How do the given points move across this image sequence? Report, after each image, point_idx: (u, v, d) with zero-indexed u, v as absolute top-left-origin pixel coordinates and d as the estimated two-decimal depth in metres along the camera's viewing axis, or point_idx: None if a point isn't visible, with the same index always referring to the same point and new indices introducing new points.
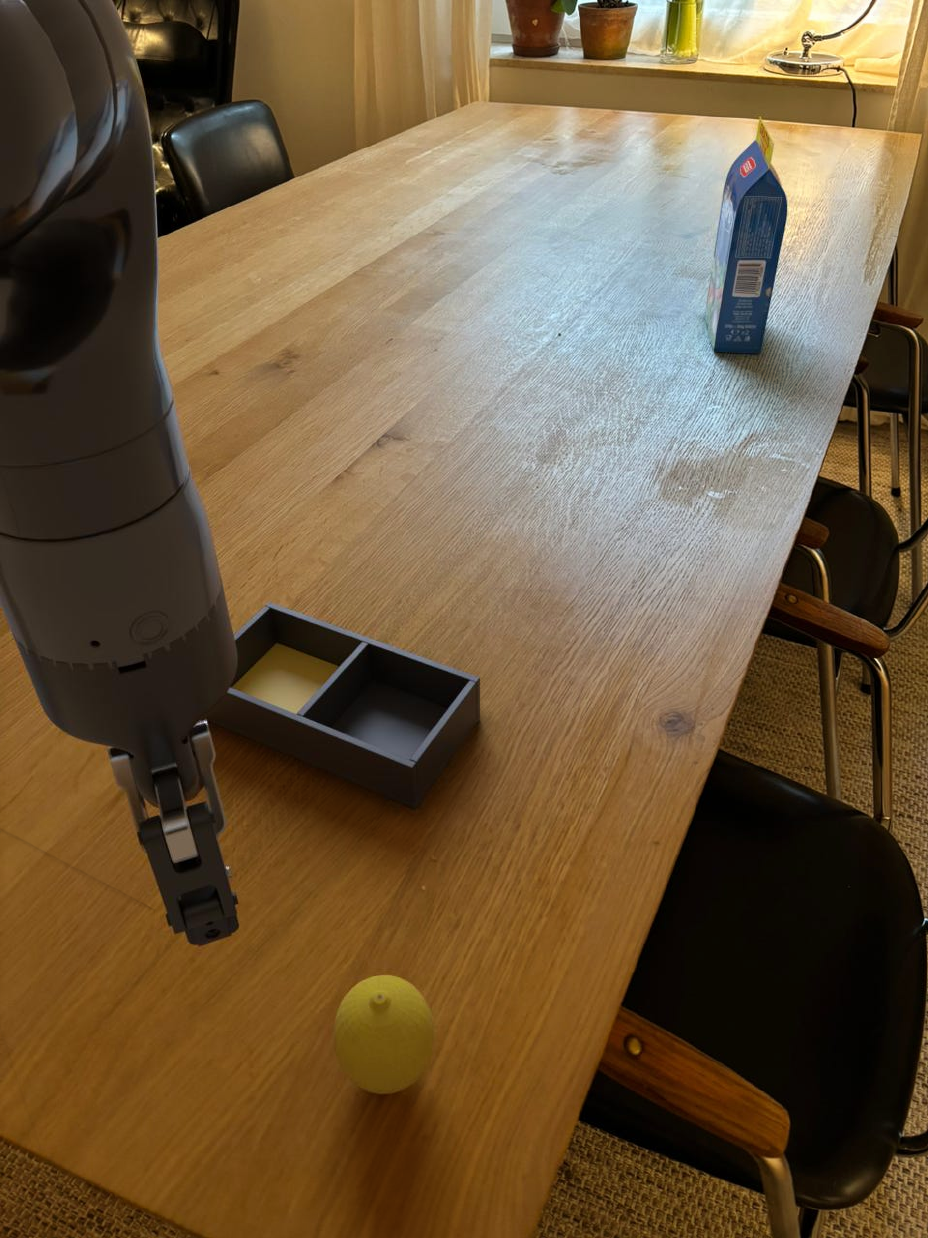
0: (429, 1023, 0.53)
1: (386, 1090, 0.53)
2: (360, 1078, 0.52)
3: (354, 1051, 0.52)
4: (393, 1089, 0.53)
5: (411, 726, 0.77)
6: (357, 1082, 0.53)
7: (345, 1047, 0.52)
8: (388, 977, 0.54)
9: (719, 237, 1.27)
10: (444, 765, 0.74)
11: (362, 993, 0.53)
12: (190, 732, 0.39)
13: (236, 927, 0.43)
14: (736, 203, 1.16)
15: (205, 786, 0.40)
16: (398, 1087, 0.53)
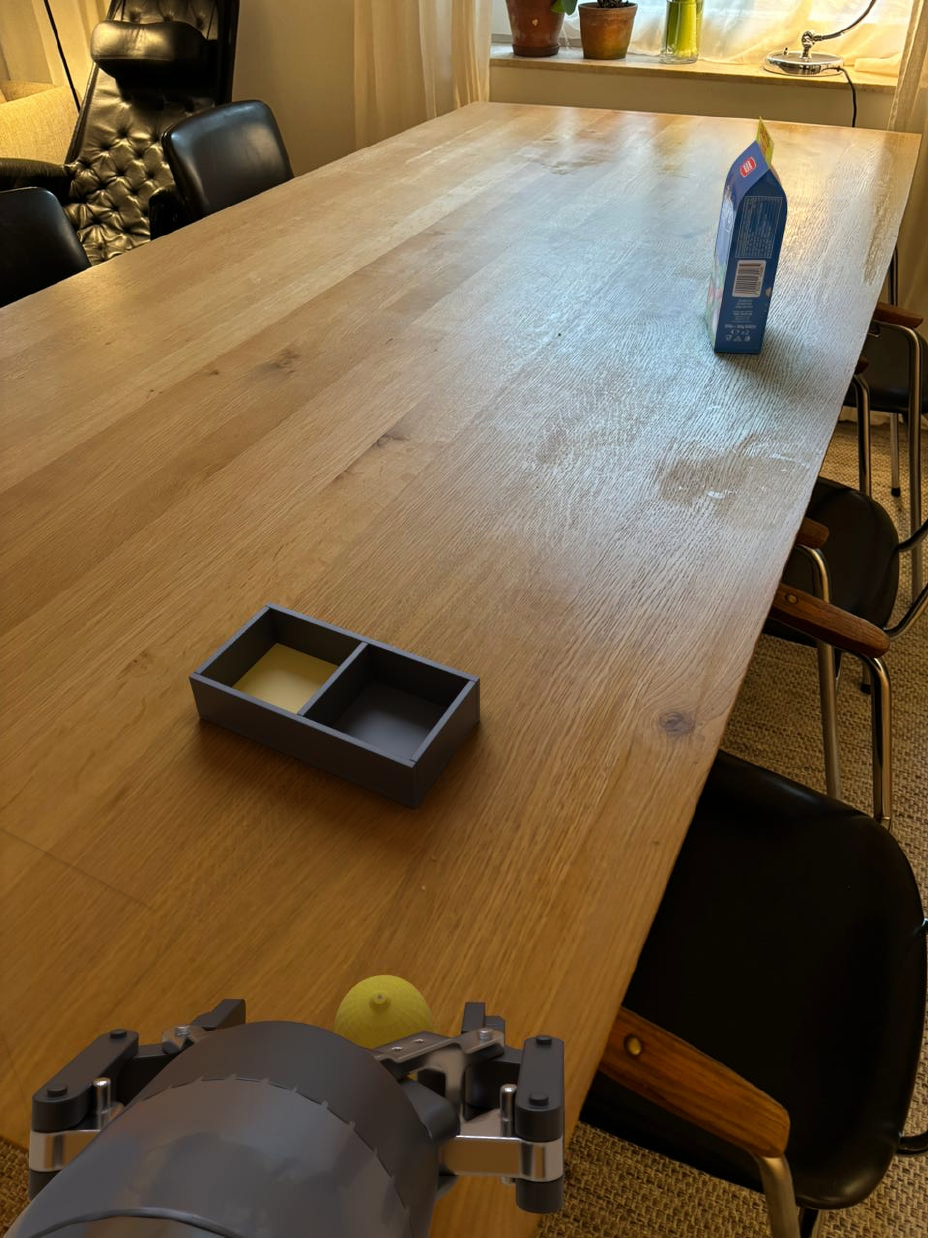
0: (429, 1023, 0.53)
1: None
2: None
3: None
4: None
5: (411, 726, 0.77)
6: None
7: None
8: (388, 977, 0.54)
9: (719, 237, 1.27)
10: (444, 765, 0.74)
11: (362, 993, 0.53)
12: None
13: None
14: (736, 203, 1.16)
15: None
16: None
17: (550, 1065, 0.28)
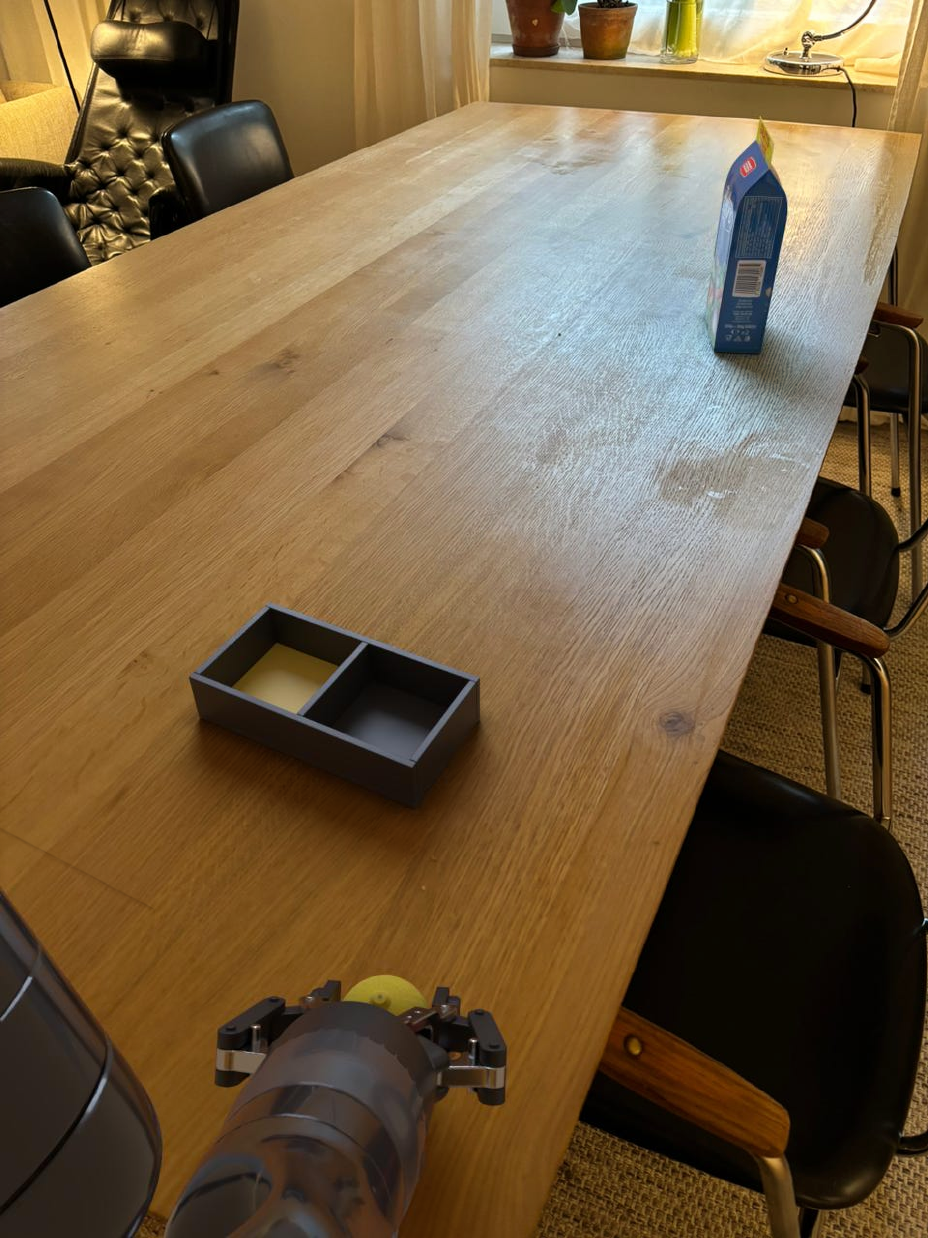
0: None
1: None
2: None
3: None
4: None
5: (411, 726, 0.77)
6: None
7: None
8: (388, 977, 0.54)
9: (719, 237, 1.27)
10: (444, 765, 0.74)
11: (362, 993, 0.53)
12: None
13: None
14: (736, 203, 1.16)
15: None
16: None
17: (490, 1026, 0.48)
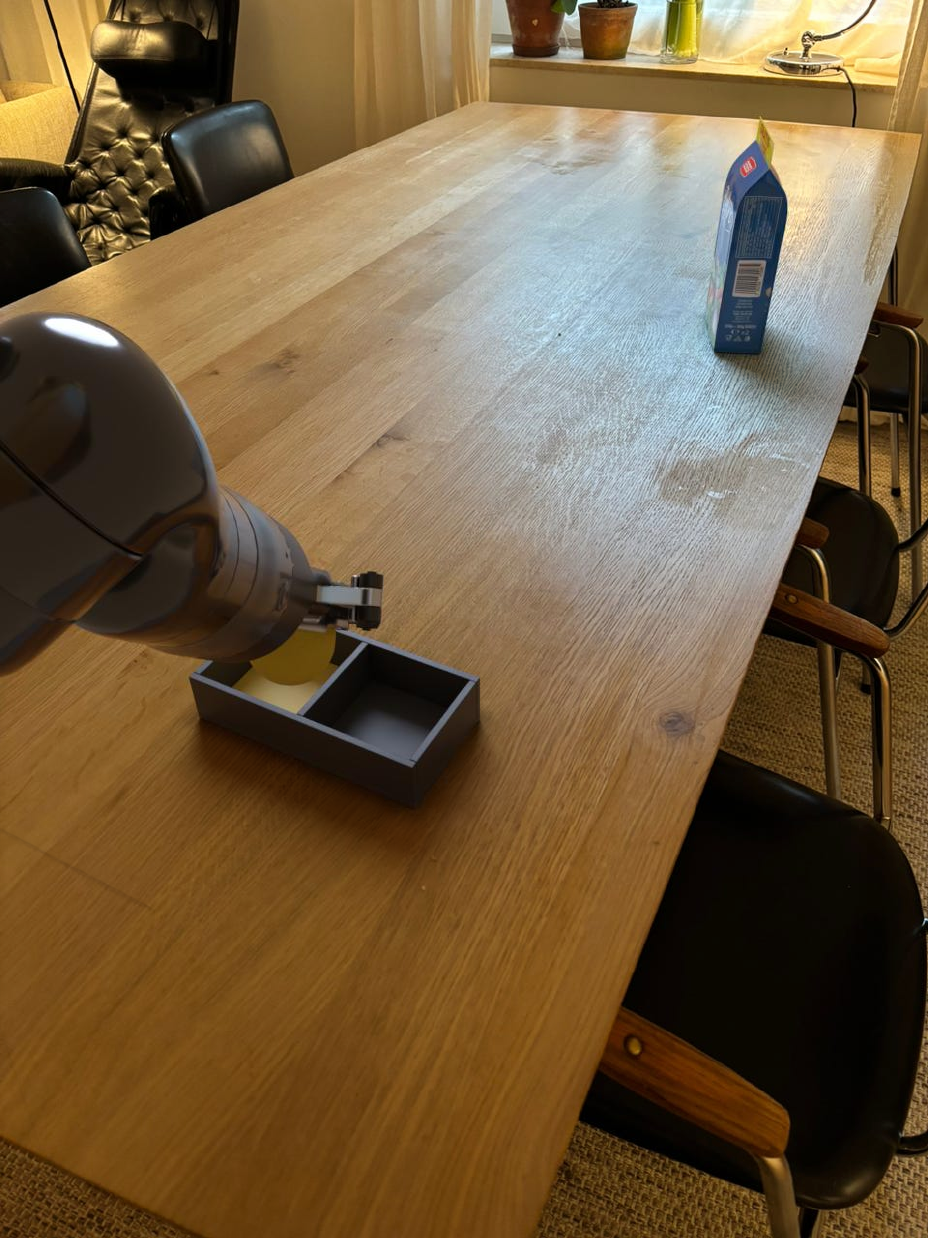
0: None
1: (288, 672, 0.58)
2: (263, 657, 0.57)
3: None
4: (294, 672, 0.58)
5: (411, 726, 0.77)
6: (261, 665, 0.58)
7: None
8: None
9: (719, 237, 1.27)
10: (444, 765, 0.74)
11: None
12: None
13: None
14: (736, 203, 1.16)
15: None
16: (299, 670, 0.58)
17: None
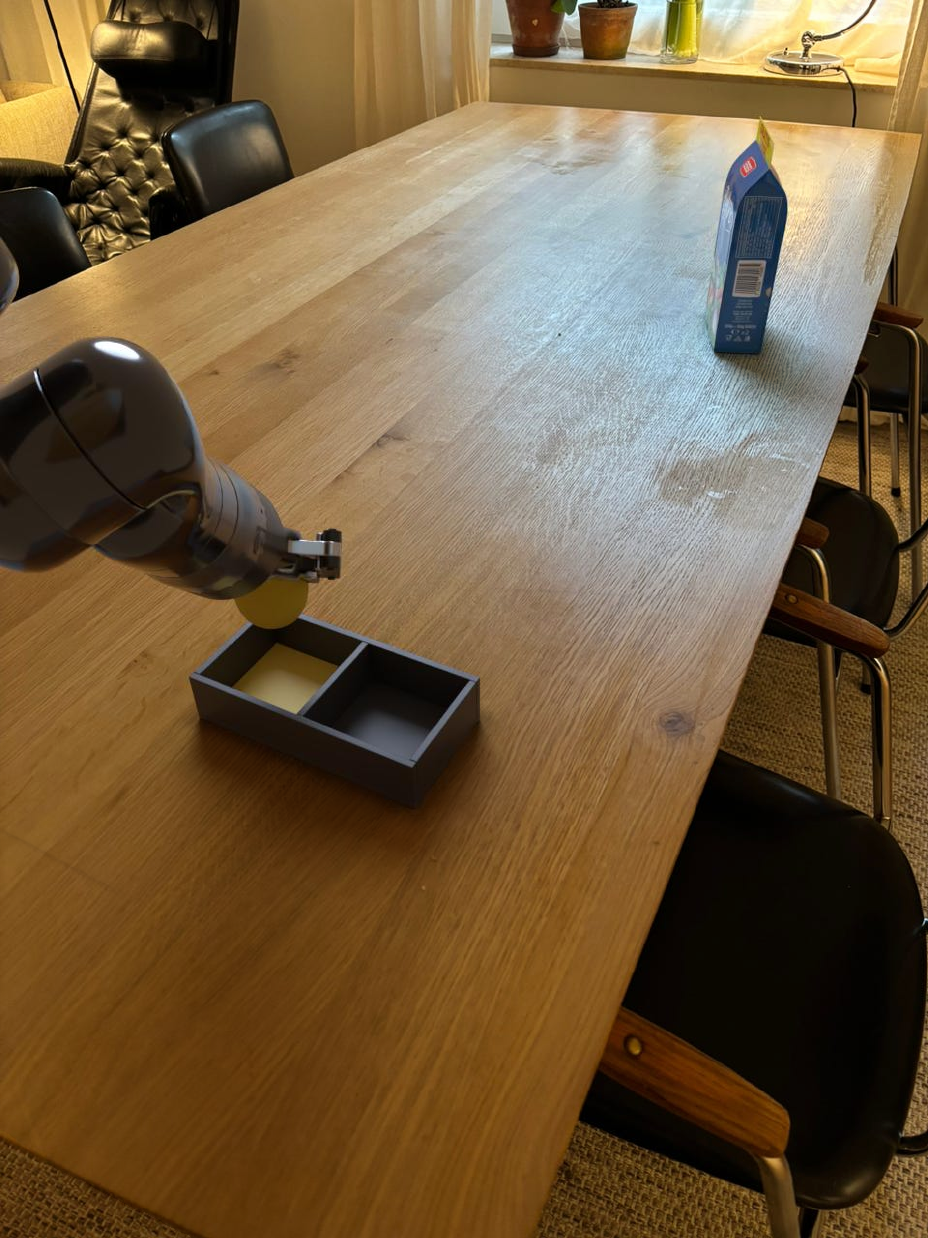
0: None
1: (269, 616, 0.71)
2: (248, 603, 0.70)
3: None
4: (274, 616, 0.71)
5: (411, 726, 0.77)
6: (247, 610, 0.71)
7: None
8: None
9: (719, 237, 1.27)
10: (444, 765, 0.74)
11: None
12: None
13: None
14: (736, 203, 1.16)
15: None
16: (278, 614, 0.71)
17: None
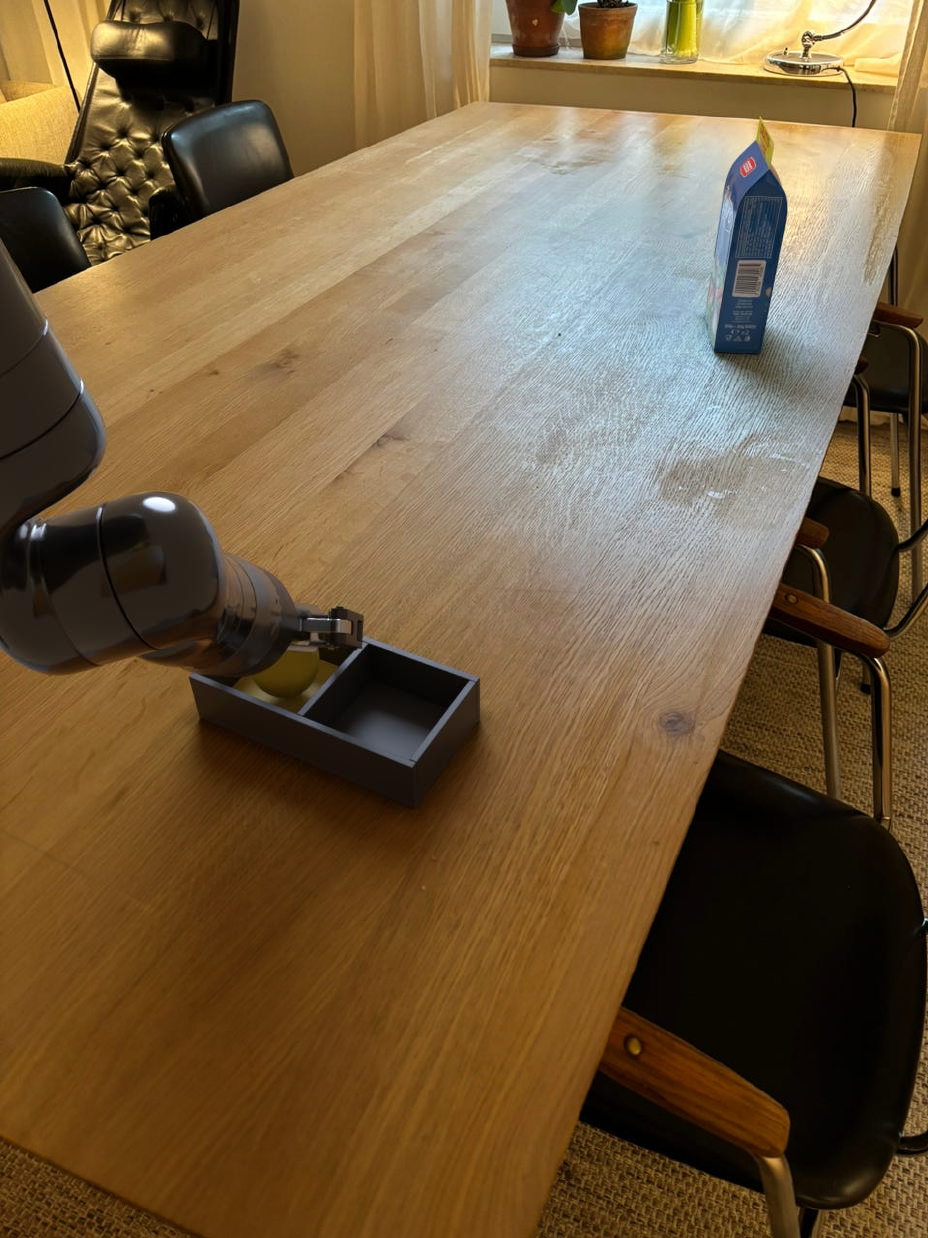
0: None
1: (282, 688, 0.75)
2: (263, 677, 0.75)
3: None
4: (287, 687, 0.75)
5: (411, 726, 0.77)
6: (262, 683, 0.75)
7: None
8: None
9: (719, 237, 1.27)
10: (444, 765, 0.74)
11: None
12: None
13: None
14: (736, 203, 1.16)
15: None
16: (290, 686, 0.75)
17: None
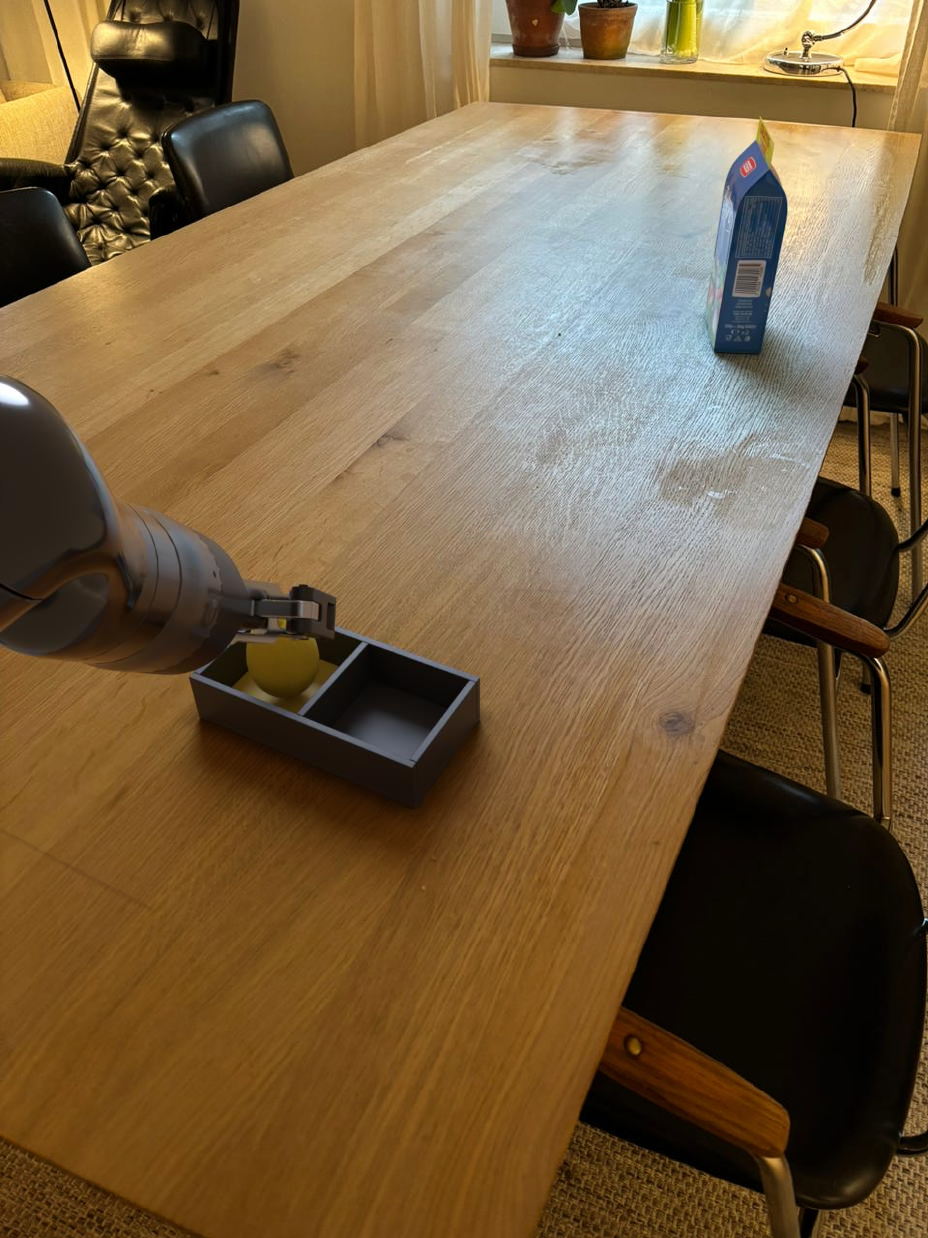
0: (313, 643, 0.76)
1: (282, 688, 0.75)
2: (263, 677, 0.75)
3: (258, 654, 0.74)
4: (287, 687, 0.75)
5: (411, 726, 0.77)
6: (262, 682, 0.75)
7: (252, 653, 0.75)
8: None
9: (719, 237, 1.27)
10: (444, 765, 0.74)
11: None
12: None
13: None
14: (736, 203, 1.16)
15: None
16: (290, 686, 0.75)
17: None
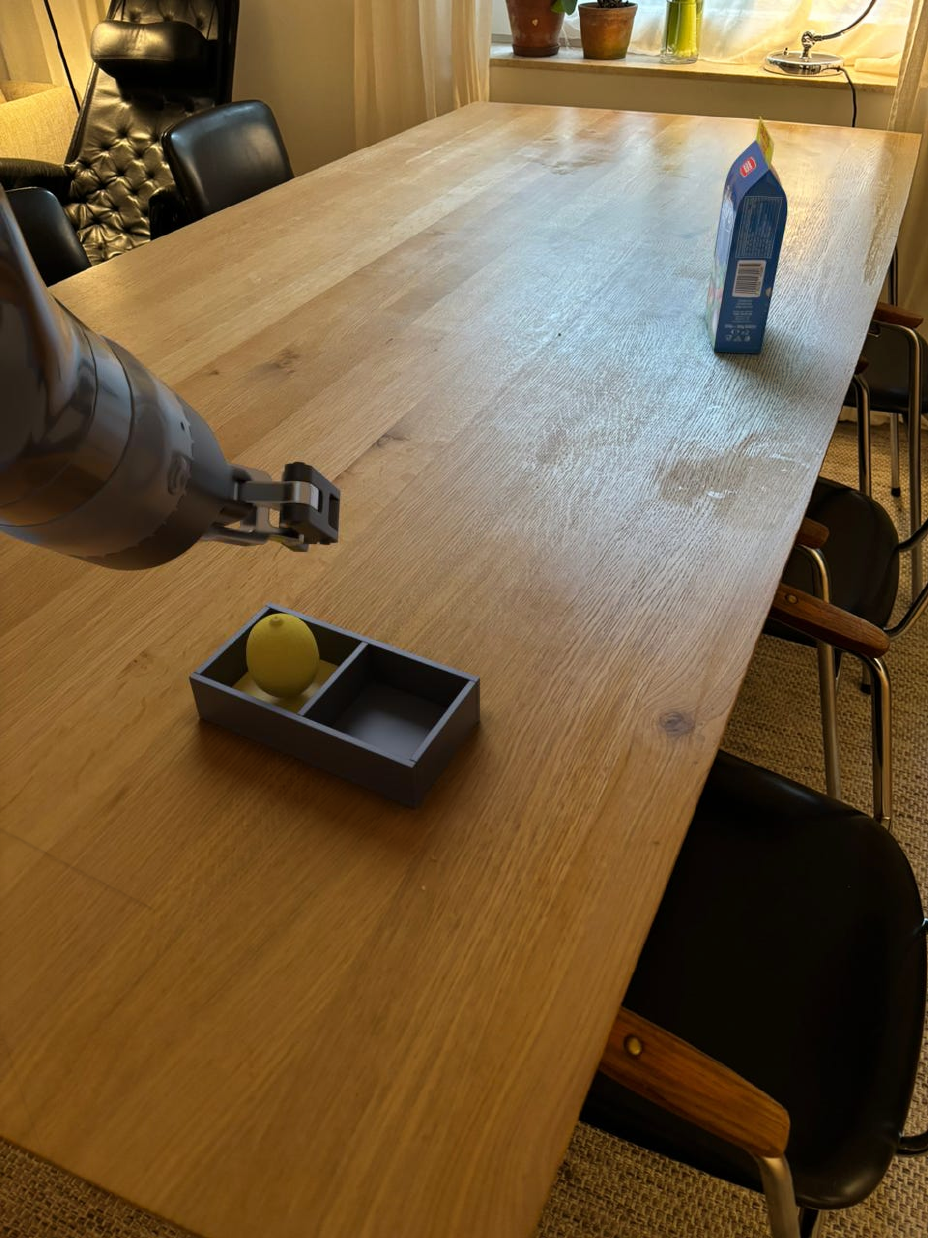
0: (313, 643, 0.76)
1: (282, 688, 0.75)
2: (263, 677, 0.75)
3: (258, 654, 0.74)
4: (287, 687, 0.75)
5: (411, 726, 0.77)
6: (262, 682, 0.75)
7: (252, 653, 0.75)
8: None
9: (719, 237, 1.27)
10: (444, 765, 0.74)
11: (265, 619, 0.75)
12: None
13: None
14: (736, 203, 1.16)
15: None
16: (290, 686, 0.75)
17: None
